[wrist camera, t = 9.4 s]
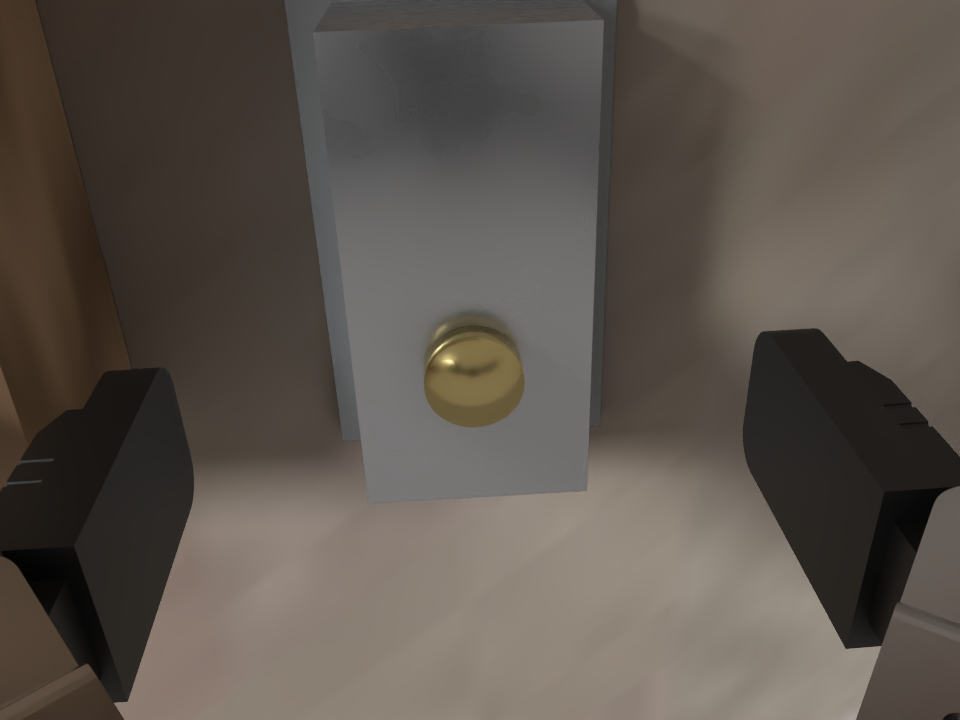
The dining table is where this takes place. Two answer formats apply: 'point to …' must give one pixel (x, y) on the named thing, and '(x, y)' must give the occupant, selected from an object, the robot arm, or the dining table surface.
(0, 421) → the plane body
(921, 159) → the dining table surface
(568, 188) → the lever cap
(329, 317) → the mat
